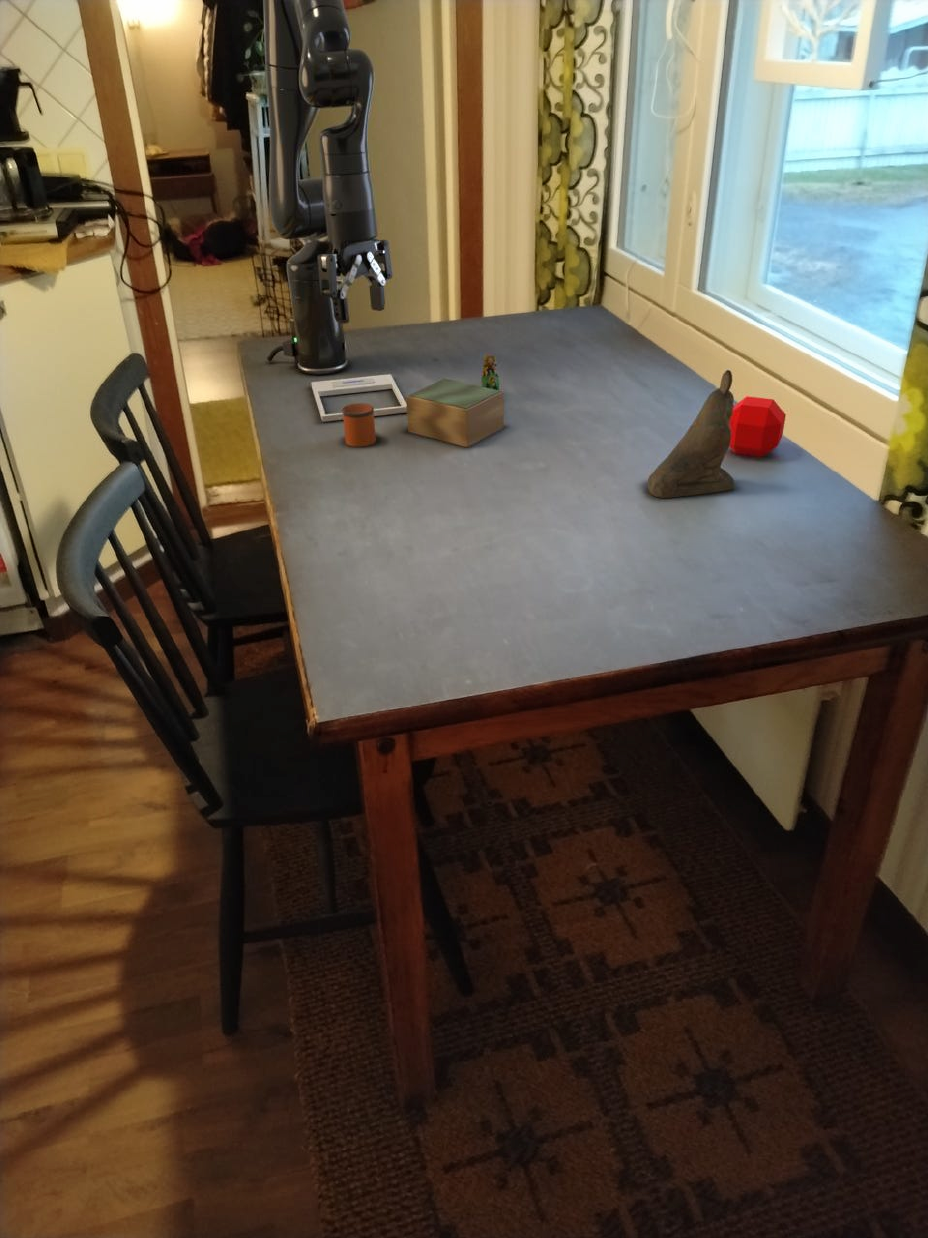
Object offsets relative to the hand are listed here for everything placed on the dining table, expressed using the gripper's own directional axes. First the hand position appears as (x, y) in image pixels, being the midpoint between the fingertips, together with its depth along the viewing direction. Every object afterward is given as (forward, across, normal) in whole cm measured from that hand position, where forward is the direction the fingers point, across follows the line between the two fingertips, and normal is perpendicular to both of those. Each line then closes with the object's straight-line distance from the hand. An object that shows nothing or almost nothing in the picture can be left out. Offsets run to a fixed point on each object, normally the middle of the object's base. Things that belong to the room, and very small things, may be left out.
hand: (360, 316), depth 151 cm
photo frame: (+17, -7, -8) cm, 20 cm away
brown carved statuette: (+19, -4, +55) cm, 59 cm away
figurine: (+18, -18, +12) cm, 28 cm away
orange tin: (+17, +8, +4) cm, 19 cm away
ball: (+19, -20, +58) cm, 64 cm away
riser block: (+18, -4, +14) cm, 23 cm away
